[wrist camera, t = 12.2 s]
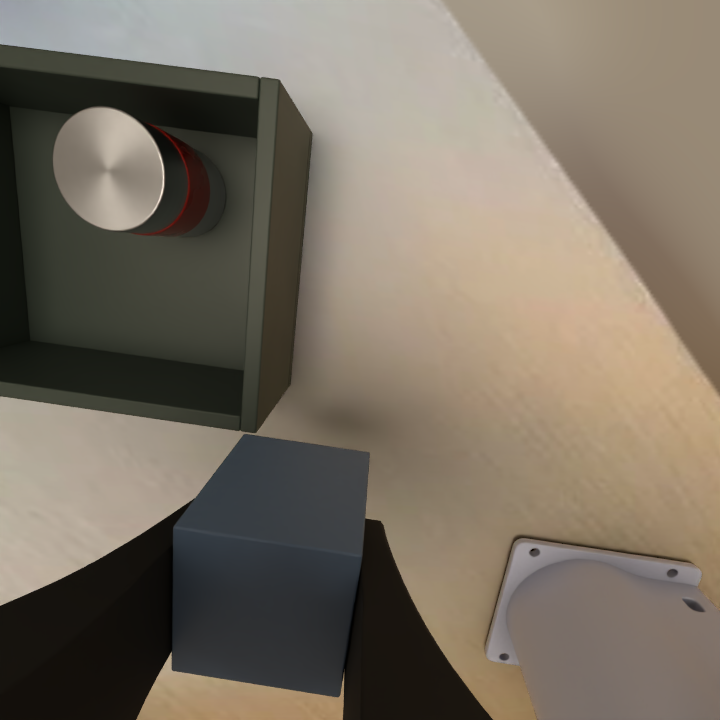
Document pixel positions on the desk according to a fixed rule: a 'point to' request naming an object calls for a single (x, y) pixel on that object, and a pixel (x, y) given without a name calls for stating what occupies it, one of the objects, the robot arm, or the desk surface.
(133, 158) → the can
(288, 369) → the dark olive open box
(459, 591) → the desk surface
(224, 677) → the dark blue rectangular block
